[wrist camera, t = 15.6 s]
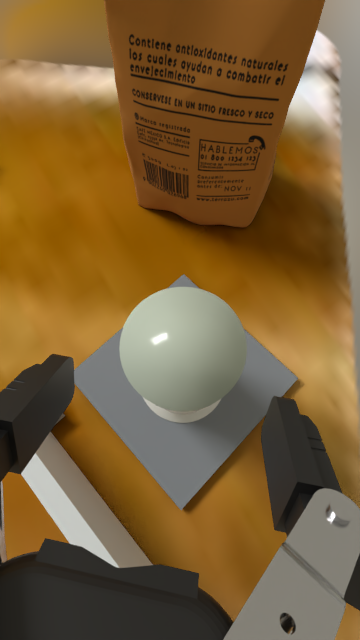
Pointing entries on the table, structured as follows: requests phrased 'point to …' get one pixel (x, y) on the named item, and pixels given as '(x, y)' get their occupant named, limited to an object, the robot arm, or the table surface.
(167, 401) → the pale green rounded cylinder
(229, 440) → the slate pad
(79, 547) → the robot arm
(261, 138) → the coffee package
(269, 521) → the table surface
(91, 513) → the light grey long bar
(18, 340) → the table surface
